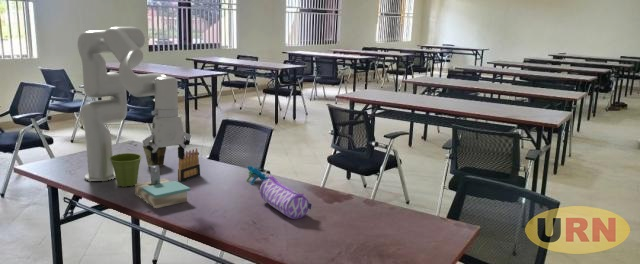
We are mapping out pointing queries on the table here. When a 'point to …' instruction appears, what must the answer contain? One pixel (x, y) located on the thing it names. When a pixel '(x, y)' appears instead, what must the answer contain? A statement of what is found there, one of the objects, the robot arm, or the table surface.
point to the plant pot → (126, 168)
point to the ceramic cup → (160, 155)
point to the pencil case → (284, 198)
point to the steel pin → (155, 175)
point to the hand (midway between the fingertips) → (168, 160)
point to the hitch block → (161, 200)
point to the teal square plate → (165, 189)
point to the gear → (255, 174)
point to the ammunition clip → (189, 166)
